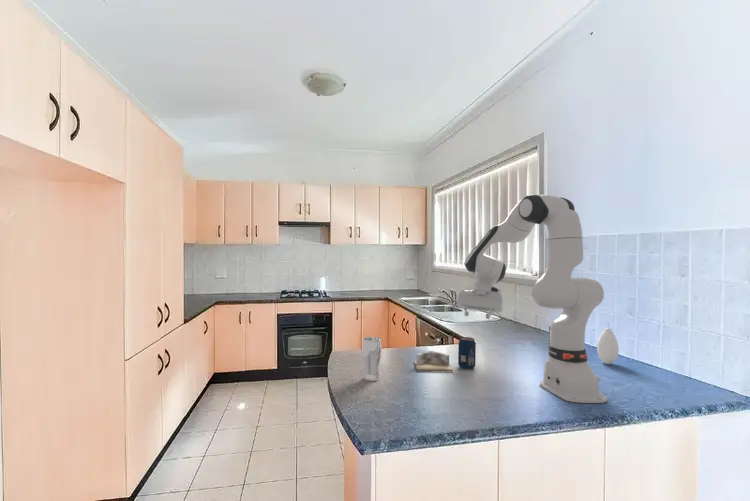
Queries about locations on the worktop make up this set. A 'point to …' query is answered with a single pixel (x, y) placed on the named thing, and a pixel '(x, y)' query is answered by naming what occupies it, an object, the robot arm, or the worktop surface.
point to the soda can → (466, 353)
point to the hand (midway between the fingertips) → (476, 316)
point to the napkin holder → (433, 362)
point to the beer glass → (371, 358)
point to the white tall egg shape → (607, 346)
